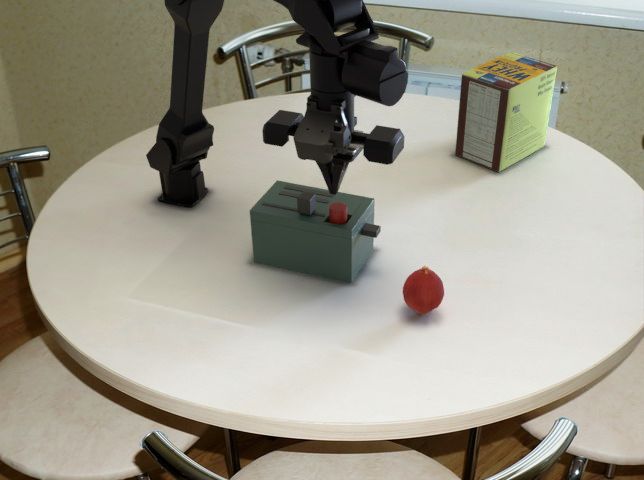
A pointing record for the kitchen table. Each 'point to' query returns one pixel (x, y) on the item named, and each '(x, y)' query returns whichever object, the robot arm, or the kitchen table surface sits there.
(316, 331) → the kitchen table surface
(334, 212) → the button
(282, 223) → the toaster
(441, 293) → the onion
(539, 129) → the protein box
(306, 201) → the slider
